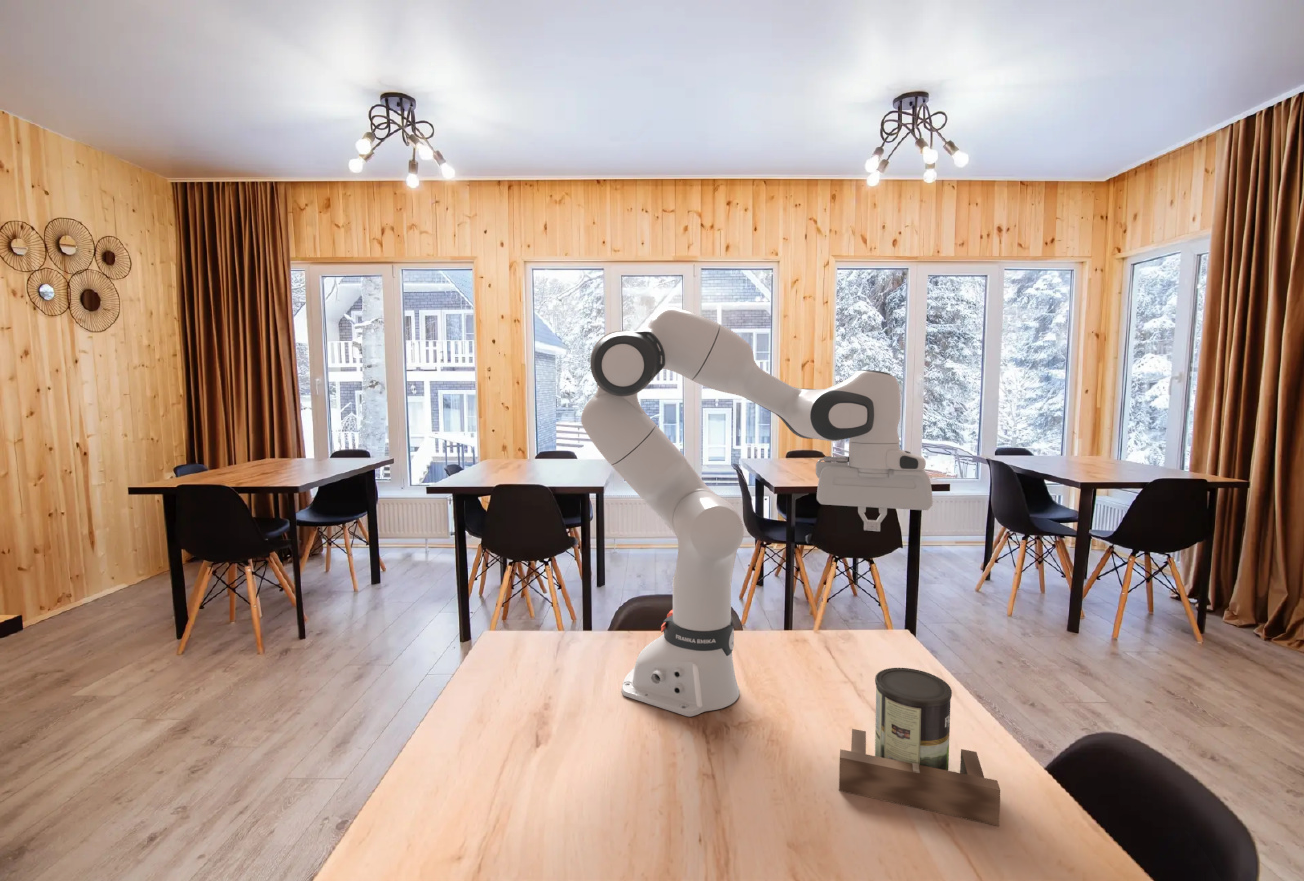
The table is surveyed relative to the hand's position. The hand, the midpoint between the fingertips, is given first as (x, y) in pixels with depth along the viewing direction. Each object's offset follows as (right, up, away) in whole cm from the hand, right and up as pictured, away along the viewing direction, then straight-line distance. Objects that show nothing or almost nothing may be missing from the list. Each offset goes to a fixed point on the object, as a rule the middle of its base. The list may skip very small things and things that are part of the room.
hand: (871, 530), depth 108 cm
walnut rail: (-4, -33, -26) cm, 42 cm away
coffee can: (-3, -33, -22) cm, 40 cm away
